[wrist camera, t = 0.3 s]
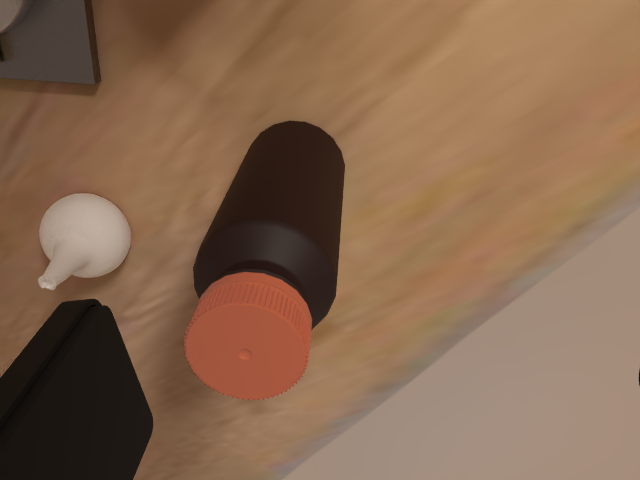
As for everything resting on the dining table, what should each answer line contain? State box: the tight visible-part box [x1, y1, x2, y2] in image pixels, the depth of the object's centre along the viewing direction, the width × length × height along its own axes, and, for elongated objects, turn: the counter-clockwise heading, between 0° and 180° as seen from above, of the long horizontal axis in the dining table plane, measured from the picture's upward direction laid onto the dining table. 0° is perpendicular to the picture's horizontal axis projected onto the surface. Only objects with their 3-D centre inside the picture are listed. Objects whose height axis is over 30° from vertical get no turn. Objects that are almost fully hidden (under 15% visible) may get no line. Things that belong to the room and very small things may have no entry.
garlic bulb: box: [38, 193, 131, 290], centre depth 40 cm, size 6×6×8 cm
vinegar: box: [183, 121, 345, 400], centre depth 31 cm, size 7×7×20 cm
